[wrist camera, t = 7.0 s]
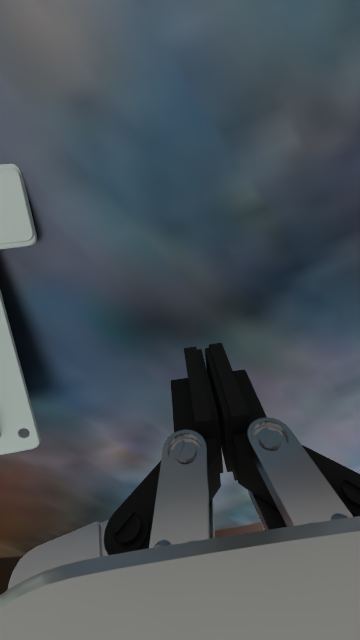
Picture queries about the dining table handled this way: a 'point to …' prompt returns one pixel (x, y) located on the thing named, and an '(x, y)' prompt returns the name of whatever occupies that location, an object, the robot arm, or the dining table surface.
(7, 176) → the metal bracket
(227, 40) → the dining table surface
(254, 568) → the robot arm
